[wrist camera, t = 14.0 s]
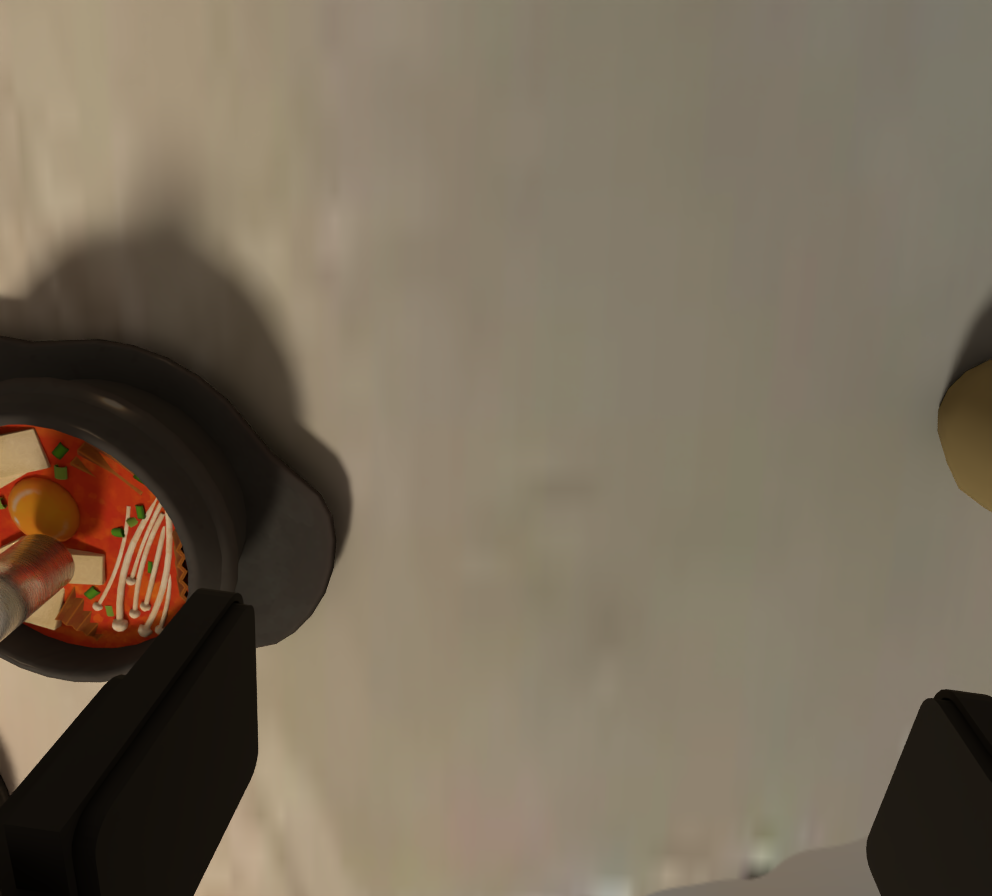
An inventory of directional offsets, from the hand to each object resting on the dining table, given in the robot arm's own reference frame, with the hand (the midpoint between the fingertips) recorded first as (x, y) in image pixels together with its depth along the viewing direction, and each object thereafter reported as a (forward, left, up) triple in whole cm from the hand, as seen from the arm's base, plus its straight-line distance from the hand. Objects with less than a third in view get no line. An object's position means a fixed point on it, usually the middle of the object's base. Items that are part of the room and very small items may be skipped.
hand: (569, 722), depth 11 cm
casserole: (+13, -23, -30) cm, 40 cm away
